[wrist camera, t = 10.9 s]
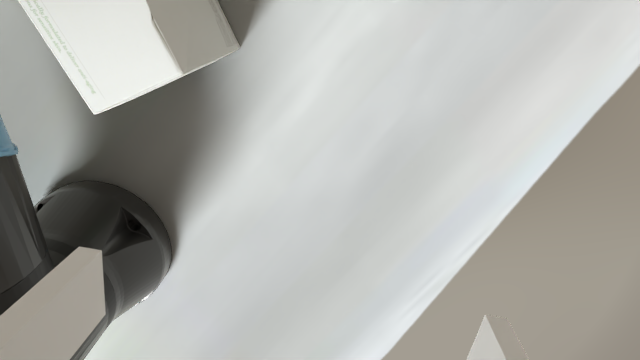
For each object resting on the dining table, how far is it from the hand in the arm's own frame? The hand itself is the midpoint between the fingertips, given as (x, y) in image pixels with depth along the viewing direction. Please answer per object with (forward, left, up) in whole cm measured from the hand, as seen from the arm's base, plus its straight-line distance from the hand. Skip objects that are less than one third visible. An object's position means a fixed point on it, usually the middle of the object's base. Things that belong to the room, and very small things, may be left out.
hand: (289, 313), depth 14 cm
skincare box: (-13, +7, -27) cm, 31 cm away
